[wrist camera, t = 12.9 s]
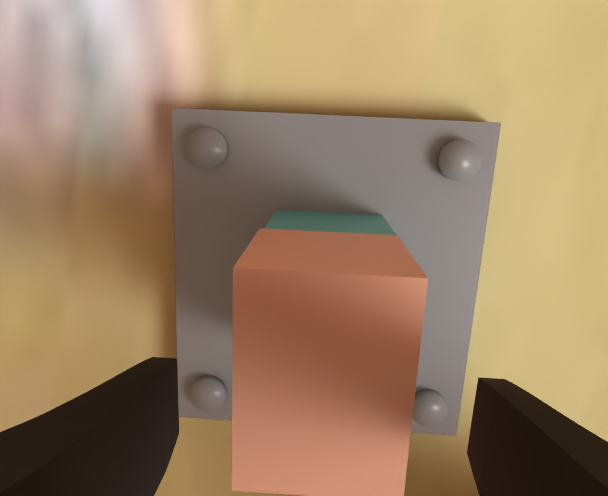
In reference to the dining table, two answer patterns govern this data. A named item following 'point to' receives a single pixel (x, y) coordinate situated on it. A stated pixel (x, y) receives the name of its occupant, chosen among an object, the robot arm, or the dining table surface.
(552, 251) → the dining table surface
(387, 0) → the dining table surface
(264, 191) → the baseplate
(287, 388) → the terracotta brick
